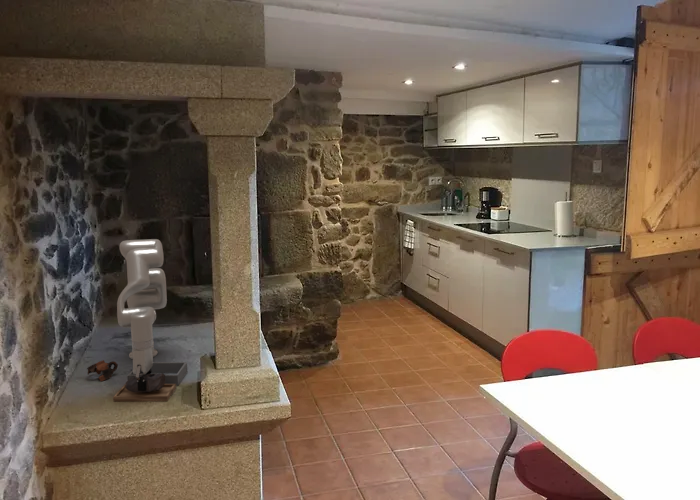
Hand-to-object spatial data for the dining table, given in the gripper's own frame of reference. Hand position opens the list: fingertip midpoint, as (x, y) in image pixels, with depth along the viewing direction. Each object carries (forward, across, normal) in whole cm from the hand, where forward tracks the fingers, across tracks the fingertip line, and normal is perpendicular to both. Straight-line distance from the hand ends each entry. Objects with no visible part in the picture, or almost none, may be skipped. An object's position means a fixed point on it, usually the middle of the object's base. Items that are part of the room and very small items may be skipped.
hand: (145, 386), depth 220 cm
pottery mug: (+4, -18, -24) cm, 31 cm away
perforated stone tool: (+2, 0, 0) cm, 2 cm away
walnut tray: (+3, 0, 0) cm, 3 cm away
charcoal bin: (+3, -16, 0) cm, 16 cm away
